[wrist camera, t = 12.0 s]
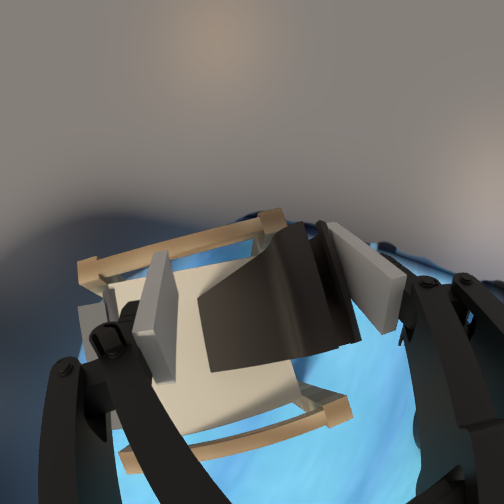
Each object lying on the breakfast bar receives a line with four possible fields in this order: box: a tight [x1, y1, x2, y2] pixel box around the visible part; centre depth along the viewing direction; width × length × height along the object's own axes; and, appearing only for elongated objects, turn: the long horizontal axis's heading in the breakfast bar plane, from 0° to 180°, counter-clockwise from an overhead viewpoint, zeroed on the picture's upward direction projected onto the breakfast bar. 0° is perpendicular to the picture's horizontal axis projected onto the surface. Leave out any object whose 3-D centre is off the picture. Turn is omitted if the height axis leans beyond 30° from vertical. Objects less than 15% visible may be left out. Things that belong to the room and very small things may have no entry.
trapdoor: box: [78, 256, 303, 436], centre depth 22 cm, size 13×16×3 cm
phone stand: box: [197, 220, 362, 373], centre depth 17 cm, size 9×6×12 cm, turn 101°
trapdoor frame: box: [77, 208, 353, 474], centre depth 28 cm, size 18×18×19 cm
